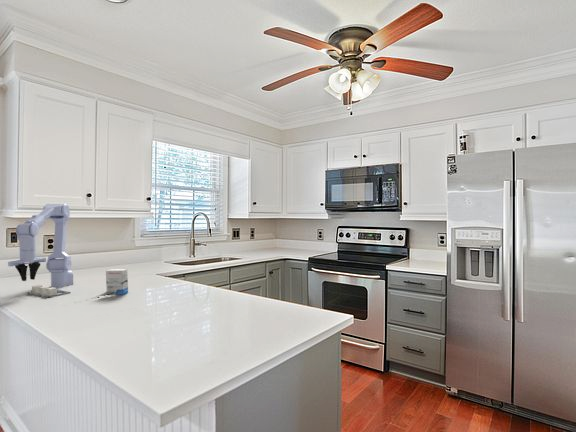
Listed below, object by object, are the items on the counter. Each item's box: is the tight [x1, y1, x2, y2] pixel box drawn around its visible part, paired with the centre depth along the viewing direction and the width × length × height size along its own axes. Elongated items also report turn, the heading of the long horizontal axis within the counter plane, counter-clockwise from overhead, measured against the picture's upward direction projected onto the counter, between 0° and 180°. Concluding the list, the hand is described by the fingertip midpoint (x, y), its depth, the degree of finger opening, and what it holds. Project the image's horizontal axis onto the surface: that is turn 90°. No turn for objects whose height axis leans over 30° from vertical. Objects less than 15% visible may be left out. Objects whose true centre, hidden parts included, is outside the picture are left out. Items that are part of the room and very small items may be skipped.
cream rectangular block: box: [39, 285, 51, 295], centre depth 162 cm, size 3×3×4 cm
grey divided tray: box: [27, 289, 71, 299], centre depth 163 cm, size 10×17×2 cm, turn 62°
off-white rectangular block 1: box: [31, 284, 44, 293], centre depth 164 cm, size 3×3×4 cm
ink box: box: [105, 268, 129, 296], centre depth 168 cm, size 9×5×12 cm, turn 84°
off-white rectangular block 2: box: [46, 287, 58, 296], centre depth 159 cm, size 3×3×4 cm
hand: (28, 280), depth 156 cm, fingers open, 3 cm apart
